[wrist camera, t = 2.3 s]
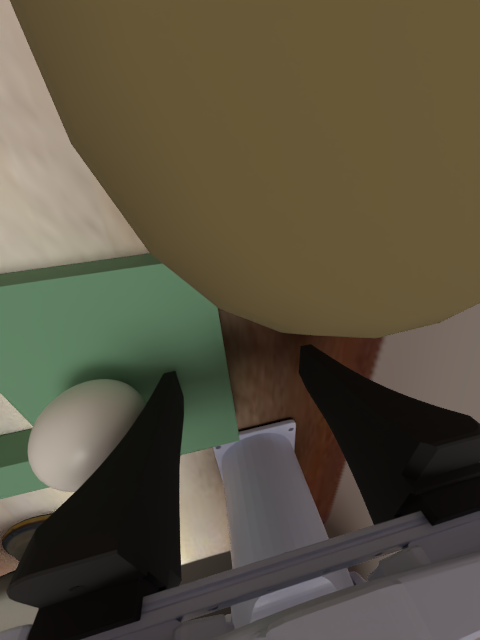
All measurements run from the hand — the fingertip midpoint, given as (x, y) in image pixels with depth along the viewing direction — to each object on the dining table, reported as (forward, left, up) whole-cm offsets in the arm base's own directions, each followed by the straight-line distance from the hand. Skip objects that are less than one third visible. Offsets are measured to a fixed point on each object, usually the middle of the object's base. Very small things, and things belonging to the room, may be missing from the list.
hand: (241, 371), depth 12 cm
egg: (0, +7, +2) cm, 7 cm away
